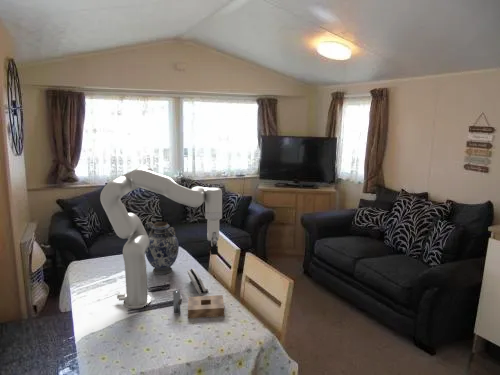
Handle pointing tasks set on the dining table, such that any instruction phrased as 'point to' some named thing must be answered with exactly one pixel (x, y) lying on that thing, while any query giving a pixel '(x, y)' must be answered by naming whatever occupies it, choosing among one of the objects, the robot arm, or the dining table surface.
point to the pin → (176, 301)
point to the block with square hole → (205, 306)
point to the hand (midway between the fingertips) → (213, 250)
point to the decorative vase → (162, 247)
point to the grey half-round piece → (196, 281)
